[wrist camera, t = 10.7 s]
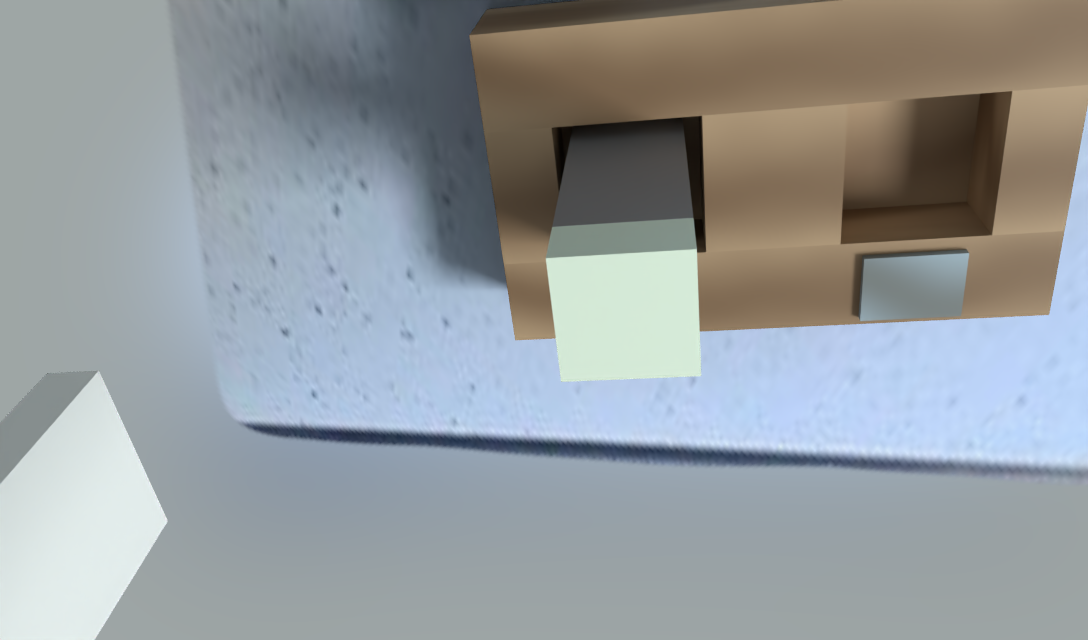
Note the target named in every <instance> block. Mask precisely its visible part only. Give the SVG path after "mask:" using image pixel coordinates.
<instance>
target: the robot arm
mask: <svg viewBox="0 0 1088 640" xmlns="http://www.w3.org/2000/svg"><path fill="white" fill-rule="evenodd" d="M166 523H167V519H166V516H165V514H164V512H163V510H162V508H161V505H160V503H159V502H158V499H157V497H156V495H155V493H154V491H153V488H152V486H151V484H150V481H149V479H148V477H147V475H146V473H145V471H144V468H143V466H142V464H141V462H140V460H139V458H138V455H137V453H136V451H135V449H134V447H133V444H132V442H131V440H130V438H129V436H128V434H127V431H126V429H125V427H124V425H123V423H122V421H121V418H120V416H119V414H118V412H117V410H116V407H115V405H114V403H113V401H112V399H111V397H110V394H109V392H108V390H107V388H106V386H105V383H104V381H103V379H102V377H101V375H100V373H99V371H85V372H65V373H47V374H46V375H45V376H44V377H43V378H42V379H41V380H40V381H39V382H38V383H37V384H36V385H35V386H34V387H33V389H32V390H31V391H30V392H29V393H28V394H27V395H26V396H25V397H24V398H23V399H22V400H21V401H20V402H19V403H18V404H17V405H16V406H15V408H14V409H13V410H12V411H11V412H10V413H9V414H8V415H7V416H6V417H5V418H4V419H3V420H2V421H1V422H0V640H95V638H96V637H97V635H98V633H99V631H100V630H101V628H102V626H103V625H104V623H105V622H106V620H107V619H108V617H109V615H110V614H111V612H112V610H113V609H114V607H115V606H116V604H117V602H118V600H119V599H120V598H121V596H122V594H123V593H124V591H125V589H126V588H127V586H128V585H129V583H130V581H131V580H132V578H133V576H134V575H135V573H136V572H137V570H138V568H139V567H140V565H141V563H142V562H143V560H144V559H145V557H146V555H147V554H148V552H149V550H150V549H151V547H152V545H153V544H154V542H155V541H156V539H157V537H158V536H159V534H160V532H161V531H162V529H163V528H164V526H165V524H166Z"/></svg>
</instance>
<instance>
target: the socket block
mask: <svg viewBox="0 0 1088 640" xmlns="http://www.w3.org/2000/svg"><path fill="white" fill-rule="evenodd" d="M469 37H470V43H471V50H472V57H473V63H474V70H475V76H476V83H477V90H478V96H479V103H480V110H481V116H482V123H483V129H484V136H485V143H486V149H487V156H488V163H489V169H490V176H491V182H492V189H493V196H494V202H495V209H496V216H497V222H498V229H499V235H500V242H501V249H502V255H503V262H504V269H505V275H506V282H507V288H508V295H509V302H510V308H511V315H512V322H513V328H514V335H515V340H531V339H552V338H556V336H555V328H554V320H553V312H552V304H551V296H550V288H549V280H548V272H547V264H546V255H547V250H548V245H549V240H550V235H551V230H552V225H553V220H554V216H555V211H556V206H557V201H558V196H559V191H560V186H561V181H562V177H563V172H564V167H565V162H566V157H567V152H568V147H569V142H570V138H571V133H572V128H573V126H579V125H591V124H604V123H617V122H629V121H642V120H654V119H667V118H679V117H682V118H683V127H684V137H685V146H686V155H687V164H688V173H689V182H690V192H691V201H692V210H693V219H694V228H695V237H696V246H697V270H698V299H699V328H700V331H719V330H740V329H761V328H782V327H803V326H824V325H845V324H866V323H887V322H907V321H928V320H949V319H970V318H991V317H1012V316H1033V315H1049V312H1050V306H1051V301H1052V296H1053V290H1054V285H1055V279H1056V274H1057V268H1058V263H1059V258H1060V252H1061V247H1062V241H1063V236H1064V230H1065V225H1066V220H1067V214H1068V209H1069V203H1070V198H1071V192H1072V187H1073V181H1074V176H1075V171H1076V165H1077V160H1078V154H1079V149H1080V143H1081V138H1082V133H1083V127H1084V122H1085V116H1086V111H1087V105H1088V0H576V1H566V2H555V3H545V4H535V5H525V6H515V7H505V8H495V9H487V10H486V11H485V13H484V14H483V16H482V17H481V19H480V20H479V22H478V23H477V25H476V26H475V28H474V29H473V31H472V32H471V34H470V35H469Z"/></svg>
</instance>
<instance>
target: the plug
mask: <svg viewBox="0 0 1088 640" xmlns="http://www.w3.org/2000/svg"><path fill="white" fill-rule="evenodd" d="M546 264H547V272H548V280H549V288H550V296H551V304H552V312H553V320H554V328H555V336H556V344H557V352H558V360H559V368H560V376H561V382H568V381H592V380H616V379H640V378H665V377H689V376H701V357H700V328H699V299H698V270H697V246H696V237H695V228H694V219H693V210H692V201H691V192H690V182H689V173H688V164H687V155H686V146H685V137H684V127H683V118H682V117H679V118H667V119H654V120H642V121H629V122H617V123H604V124H591V125H579V126H573V128H572V133H571V138H570V142H569V147H568V152H567V157H566V162H565V167H564V172H563V177H562V181H561V186H560V191H559V196H558V201H557V206H556V211H555V216H554V220H553V225H552V230H551V235H550V240H549V245H548V250H547V255H546Z"/></svg>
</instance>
